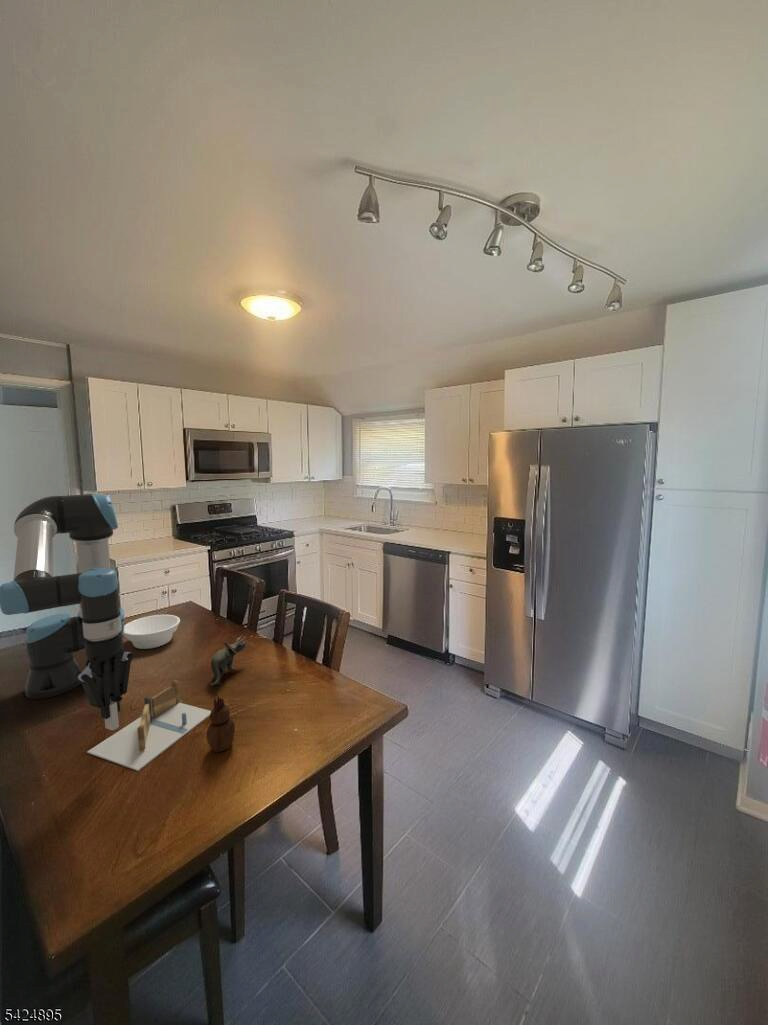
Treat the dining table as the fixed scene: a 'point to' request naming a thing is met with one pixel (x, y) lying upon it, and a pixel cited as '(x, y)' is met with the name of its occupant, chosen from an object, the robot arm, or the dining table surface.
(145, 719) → the fence panel
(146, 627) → the bowl
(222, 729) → the wooden figurine
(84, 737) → the dining table surface
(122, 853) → the dining table surface
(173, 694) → the fence fixed
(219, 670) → the dinosaur figurine
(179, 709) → the card
